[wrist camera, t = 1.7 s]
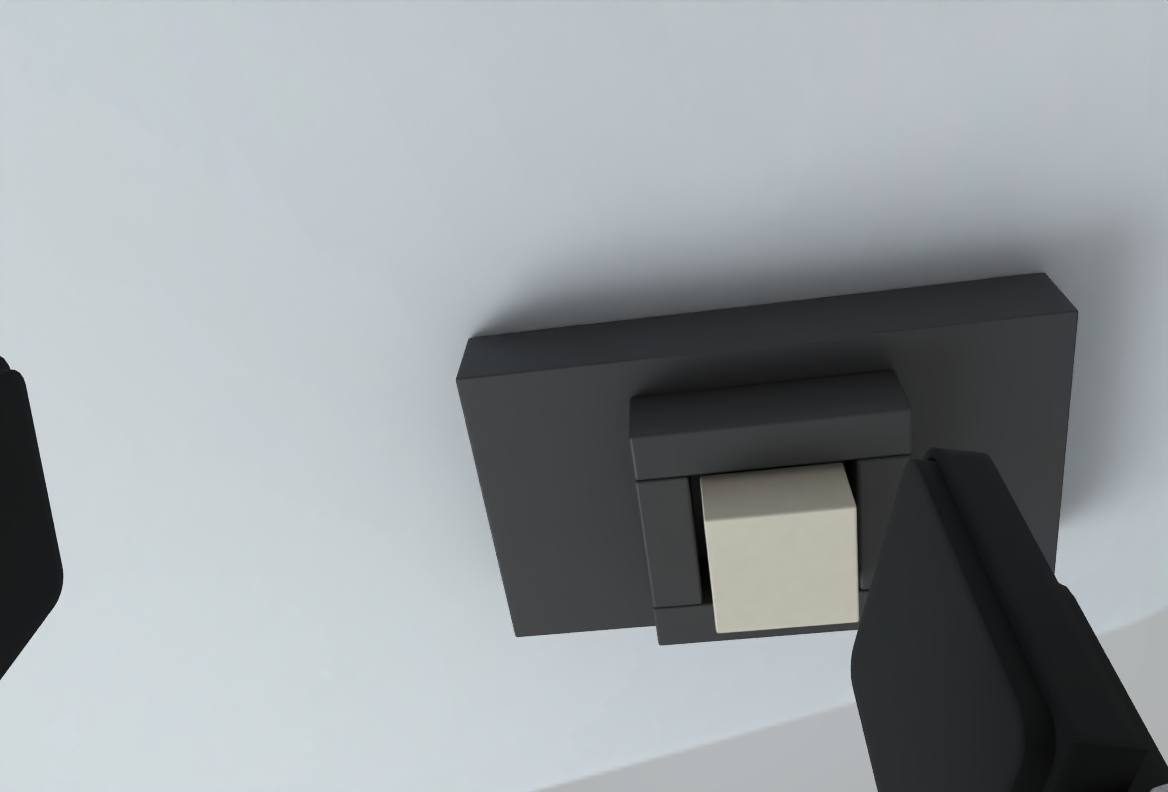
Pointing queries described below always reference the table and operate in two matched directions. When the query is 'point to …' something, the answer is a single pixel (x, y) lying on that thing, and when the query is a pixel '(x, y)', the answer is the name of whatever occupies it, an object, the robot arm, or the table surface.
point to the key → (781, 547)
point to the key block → (748, 434)
